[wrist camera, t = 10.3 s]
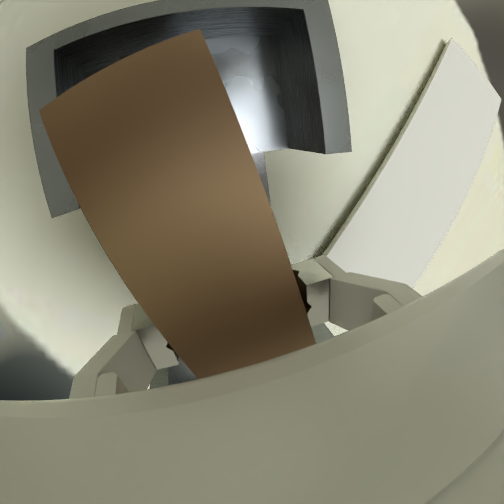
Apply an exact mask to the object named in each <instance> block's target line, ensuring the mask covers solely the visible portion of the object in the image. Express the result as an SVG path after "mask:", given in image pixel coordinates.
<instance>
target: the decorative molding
mask: <svg viewBox="0 0 504 504" xmlns="http://www.w3.org/2000/svg"><path fill="white" fill-rule="evenodd" d="M500 102H501V98H500V97H499V95H498V94H497V92H496V91H495V89H494V88H493V87H492V85H491V84H490V82H489V81H488V80H487V78H486V77H485V76H484V74H483V73H482V72H481V70H480V69H479V68H478V67H477V65H476V64H475V63H474V62H473V61H472V59H471V58H470V57H469V56H468V55H467V53H466V52H465V51H464V50H463V49H462V48H461V47H460V46H459V45H458V43H457V42H456V41H455V40H454V39H453V38H451V39H450V40H449V41H448V42H447V43H446V45H445V47H444V49H443V51H442V53H441V55H440V57H439V59H438V62H437V64H436V66H435V68H434V70H433V72H432V74H431V76H430V78H429V80H428V82H427V84H426V85H425V87H424V89H423V91H422V93H421V95H420V97H419V99H418V101H417V103H416V104H415V106H414V108H413V110H412V112H411V114H410V115H409V117H408V119H407V121H406V123H405V124H404V126H403V128H402V130H401V131H400V133H399V135H398V137H397V138H396V140H395V142H394V144H393V145H392V147H391V149H390V150H389V152H388V154H387V155H386V157H385V159H384V160H383V162H382V164H381V165H380V167H379V169H378V170H377V172H376V174H375V175H374V177H373V178H372V180H371V182H370V183H369V185H368V186H367V188H366V190H365V191H364V193H363V194H362V196H361V197H360V199H359V201H358V202H357V204H356V205H355V207H354V208H353V210H352V211H351V213H350V214H349V216H348V217H347V219H346V220H345V222H344V223H343V225H342V226H341V228H340V229H339V231H338V232H337V234H336V235H335V237H334V238H333V240H332V241H331V243H330V244H329V246H328V247H327V248H326V250H325V251H324V253H323V254H322V255H325V256H327V257H328V258H329V259H330V260H332V261H333V262H334V263H335V264H336V265H338V266H339V267H340V268H341V269H342V270H344V271H345V272H346V273H348V272H353V273H358V274H363V275H367V276H372V277H377V278H381V279H386V280H391V281H395V282H400V283H404V284H407V285H408V286H409V287H411V288H412V289H413V287H414V286H415V285H416V283H417V282H418V280H419V279H420V277H421V276H422V274H423V272H424V271H425V269H426V268H427V266H428V265H429V263H430V261H431V260H432V258H433V257H434V255H435V253H436V252H437V250H438V248H439V246H440V245H441V243H442V241H443V240H444V238H445V236H446V234H447V232H448V231H449V229H450V227H451V225H452V223H453V221H454V219H455V218H456V216H457V214H458V212H459V210H460V208H461V206H462V204H463V202H464V200H465V197H466V195H467V193H468V191H469V189H470V187H471V184H472V182H473V180H474V178H475V175H476V173H477V170H478V168H479V166H480V163H481V161H482V158H483V155H484V153H485V150H486V147H487V145H488V142H489V139H490V136H491V133H492V130H493V127H494V124H495V120H496V117H497V113H498V110H499V106H500Z"/></svg>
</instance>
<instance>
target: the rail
mask: <svg viewBox="0 0 504 504" xmlns="http://www.w3.org/2000/svg"><path fill="white" fill-rule="evenodd" d="M39 113H40V116H41V118H42V121H43V124H44V127H45V129H46V132H47V135H48V137H49V140H50V142H51V145H52V147H53V150H54V152H55V155H56V157H57V159H58V162H59V164H60V166H61V168H62V171H63V173H64V175H65V177H66V179H67V181H68V184H69V186H70V188H71V190H72V192H73V194H74V196H75V198H76V200H77V202H78V204H79V206H80V208H81V210H82V212H83V213H84V215H85V217H86V219H87V221H88V223H89V225H90V226H91V228H92V230H93V232H94V234H95V235H96V237H97V239H98V240H99V242H100V244H101V246H102V247H103V249H104V251H105V252H106V254H107V256H108V257H109V259H110V261H111V262H112V264H113V265H114V267H115V269H116V270H117V272H118V273H119V275H120V276H121V278H122V279H123V281H124V282H125V284H126V286H127V287H128V288H129V290H130V291H131V293H132V294H133V296H134V297H135V299H136V300H137V302H138V303H139V304H140V306H141V307H142V309H143V310H144V312H145V313H146V314H147V316H148V317H149V318H150V320H151V321H152V322H153V324H154V325H155V326H156V328H157V329H158V330H159V332H160V333H161V334H162V336H163V337H164V338H165V340H166V341H167V342H168V343H169V345H170V346H171V347H172V348H173V350H174V351H175V352H176V353H177V355H178V356H179V357H180V358H181V359H182V361H183V362H184V363H185V364H186V365H187V367H188V368H189V369H190V370H191V371H192V372H193V374H194V375H195V376H196V377H197V378H198V379H201V378H205V377H209V376H213V375H217V374H221V373H225V372H229V371H232V370H236V369H240V368H243V367H247V366H250V365H253V364H257V363H260V362H263V361H267V360H270V359H273V358H276V357H279V356H282V355H285V354H288V353H291V352H294V351H297V350H300V349H303V348H306V347H308V346H311V345H314V344H316V341H315V338H314V335H313V331H312V328H311V325H310V322H309V319H308V316H307V313H306V309H305V306H304V303H303V300H302V297H301V294H300V291H299V288H298V285H297V282H296V279H295V276H294V273H293V270H292V267H291V264H290V261H289V258H288V255H287V252H286V249H285V246H284V243H283V240H282V238H281V235H280V232H279V229H278V226H277V223H276V220H275V218H274V215H273V212H272V209H271V206H270V204H269V201H268V198H267V195H266V193H265V190H264V187H263V184H262V182H261V179H260V176H259V174H258V171H257V168H256V166H255V163H254V160H253V158H252V155H251V152H250V150H249V147H248V144H247V142H246V139H245V137H244V134H243V132H242V129H241V126H240V124H239V121H238V119H237V116H236V114H235V111H234V109H233V106H232V104H231V101H230V99H229V96H228V94H227V91H226V89H225V86H224V84H223V82H222V79H221V77H220V74H219V72H218V69H217V67H216V65H215V62H214V60H213V58H212V55H211V53H210V51H209V48H208V46H207V44H206V41H205V39H204V37H203V34H202V32H201V30H200V29H197V30H194V31H191V32H188V33H185V34H182V35H179V36H176V37H173V38H171V39H168V40H165V41H163V42H160V43H158V44H155V45H153V46H150V47H148V48H145V49H143V50H141V51H139V52H136V53H134V54H132V55H130V56H128V57H126V58H124V59H122V60H119V61H117V62H116V63H114V64H112V65H110V66H108V67H106V68H104V69H102V70H100V71H99V72H97V73H95V74H93V75H91V76H90V77H88V78H86V79H85V80H83V81H81V82H80V83H78V84H77V85H75V86H73V87H72V88H70V89H69V90H67V91H66V92H64V93H63V94H61V95H60V96H58V97H57V98H55V99H54V100H53V101H51V102H50V103H48V104H47V105H46V106H44V107H43V108H42V109H40V110H39Z"/></svg>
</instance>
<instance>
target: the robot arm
mask: <svg viewBox="0 0 504 504" xmlns="http://www.w3.org/2000/svg"><path fill="white" fill-rule="evenodd" d="M291 267H292V270H293V273H294V276H295V279H296V282H297V285H298V288H299V291H300V294H301V297H302V300H303V303H304V306H305V309H306V313H307V316H308V319H309V322H310V325H311V327H312V326H315V325H318V324H321V323H324V322H327V321H329V322H331V323H333V324H335V325H338V326H340V327H342V328H344V329H346V330H349V331H347V332H345V333H342V334H340V335H337V336H335V337H332V338H330V339H327V340H324V341H322V342H319V343H316V344H314V345H311V346H308V347H306V348H303V349H300V350H297V351H294V352H291V353H288V354H285V355H282V356H279V357H276V358H273V359H270V360H267V361H263V362H260V363H257V364H253V365H250V366H247V367H243V368H240V369H236V370H232V371H229V372H225V373H221V374H217V375H213V376H209V377H205V378H201V379H197V380H192V381H188V382H183V383H178V384H174V385H169V386H163V387H158V388H153V389H147V388H148V386H149V384H150V382H151V381H152V379H153V377H154V375H155V373H156V372H157V371H156V370H158V369H162V368H167V367H171V366H175V365H179V357H178V355H177V353H176V352H175V351H174V350H173V348H172V347H171V346H170V345H169V343H168V342H167V341H166V340H165V338H164V337H163V336H162V334H161V333H160V332H159V330H158V329H157V328H156V326H155V325H154V324H153V322H152V321H151V320H150V318H149V317H148V316H147V314H146V313H145V312H144V310H143V309H142V307H141V306H140V304H134V305H130V306H126V307H123V309H122V313H121V318H120V323H119V328H118V333H117V335H113V336H112V337H111V338H110V340H109V341H108V342H107V343H106V344H105V345H104V346H103V347H102V348H101V349H100V350H99V351H98V352H97V353H96V354H95V355H94V356H93V357H92V358H91V359H90V360H89V361H88V363H87V364H86V365H85V366H84V367H83V368H82V369H81V370H80V371H79V372H78V373H77V374H76V375H75V376H74V380H73V384H72V388H71V393H70V397H69V399H64V400H45V401H2V400H1V401H0V504H504V249H502V250H500V251H499V252H497V253H496V254H494V255H493V256H491V257H490V258H488V259H487V260H485V261H484V262H482V263H480V264H479V265H477V266H476V267H474V268H472V269H471V270H469V271H467V272H466V273H464V274H462V275H461V276H459V277H457V278H456V279H454V280H452V281H450V282H449V283H447V284H445V285H443V286H442V287H440V288H438V289H436V290H434V291H432V292H430V293H429V294H427V295H425V296H421V295H420V294H419V293H417V292H416V291H415V290H413V289H412V288H411V287H409V286H408V285H407V284H404V283H400V282H395V281H391V280H386V279H381V278H377V277H372V276H367V275H363V274H358V273H353V272H348V273H346V272H345V271H344V270H342V269H341V268H340V267H339V266H338V265H336V264H335V263H334V262H333V261H332V260H330V259H329V258H328V257H327V256H325V255H322V256H319V257H316V258H313V259H309V260H306V261H303V262H300V263H296V264H293V265H291Z"/></svg>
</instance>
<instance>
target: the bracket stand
mask: <svg viewBox="0 0 504 504" xmlns="http://www.w3.org/2000/svg"><path fill="white" fill-rule="evenodd" d="M197 29H200V30H201V32H202V34H203V37H204V39H205V41H206V44H207V46H208V48H209V51H210V53H211V55H212V58H213V60H214V62H215V65H216V67H217V69H218V72H219V74H220V77H221V79H222V82H223V84H224V86H225V89H226V91H227V94H228V96H229V99H230V101H231V104H232V106H233V109H234V111H235V114H236V116H237V119H238V121H239V124H240V126H241V129H242V132H243V134H244V137H245V139H246V142H247V144H248V147H249V150H250V152H251V155H252V158H253V160H254V163H255V166H256V168H257V171H258V174H259V176H260V179H261V182H262V184H263V187H264V190H265V193H266V195H267V198H268V201H269V204H270V197H269V190H268V182H267V174H266V167H265V159H264V152H266V151H273V150H280V149H288V148H289V149H296V150H303V151H309V152H316V153H321V154H333V153H343V152H352V149H351V136H350V125H349V116H348V107H347V99H346V91H345V84H344V77H343V71H342V65H341V59H340V54H339V48H338V43H337V38H336V33H335V29H334V24H333V20H332V15H331V11H330V7H329V3H328V0H158V1H153V2H149V3H144V4H140V5H136V6H132V7H128V8H124V9H120V10H117V11H114V12H110V13H107V14H104V15H101V16H98V17H95V18H92V19H89V20H87V21H84V22H81V23H79V24H76V25H74V26H71V27H69V28H67V29H64V30H62V31H60V32H58V33H55V34H53V35H51V36H49V37H47V38H45V39H43V40H41V41H39V42H37V43H35V44H33V45H31V46H30V47H28V48H26V76H27V94H28V106H29V115H30V123H31V130H32V137H33V143H34V148H35V154H36V159H37V164H38V168H39V173H40V177H41V181H42V185H43V189H44V193H45V196H46V200H47V203H48V207H49V210H50V213H51V217H52V218H54V217H57V216H60V215H62V214H65V213H68V212H71V211H74V210H77V209H79V208H80V206H79V204H78V202H77V200H76V198H75V196H74V194H73V192H72V190H71V188H70V186H69V184H68V181H67V179H66V177H65V175H64V173H63V171H62V168H61V166H60V164H59V162H58V159H57V157H56V155H55V152H54V150H53V147H52V145H51V142H50V140H49V137H48V135H47V132H46V129H45V127H44V124H43V121H42V118H41V116H40V113H39V110H40V109H42V108H43V107H44V106H46V105H47V104H48V103H50V102H51V101H53V100H54V99H55V98H57V97H58V96H60V95H61V94H63V93H64V92H66V91H67V90H69V89H70V88H72V87H73V86H75V85H77V84H78V83H80V82H81V81H83V80H85V79H86V78H88V77H90V76H91V75H93V74H95V73H97V72H99V71H100V70H102V69H104V68H106V67H108V66H110V65H112V64H114V63H116V62H117V61H119V60H122V59H124V58H126V57H128V56H130V55H132V54H134V53H136V52H139V51H141V50H143V49H145V48H148V47H150V46H153V45H155V44H158V43H160V42H163V41H165V40H168V39H171V38H173V37H176V36H179V35H182V34H185V33H188V32H191V31H194V30H197ZM270 206H271V205H270ZM311 328H312V331H313V335H314V338H315V341H316V343H319V342H322V341H324V340H327V339H330V338H332V337H334V335H333V334H332V333H331V332H330V330H329V329H328V328H327V326H326V325H325V324H324V323H321V324H318V325H315V326H312V327H311ZM178 357H179V356H178ZM156 371H157V372H156V373H155V375H154V377H153V379H152V381H151V382H150V389H153V388H158V387H163V386H169V385H174V384H178V383H183V382H188V381H192V380H197V379H198V378H197V377H196V376H195V375H194V374H193V372H192V371H191V370H190V369H189V368H188V367H187V365H186V364H185V363H184V362H183V361H182V359H181V358H180V357H179V365H175V366H171V367H167V368H162V369H158V370H156Z"/></svg>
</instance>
